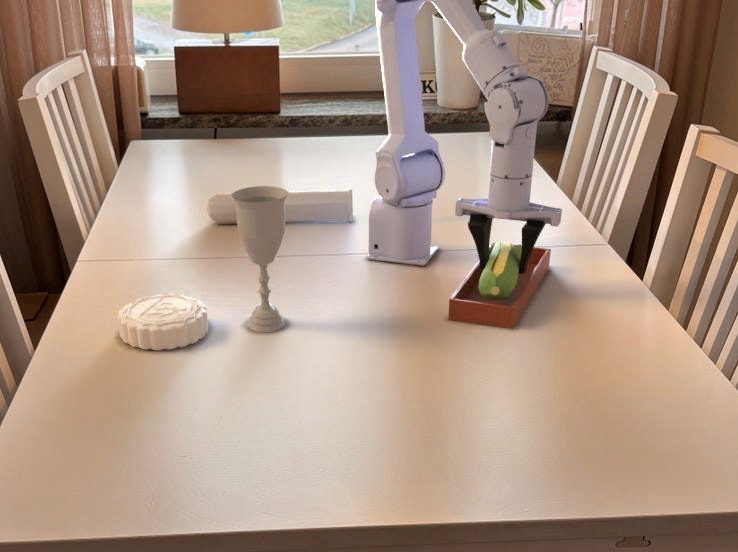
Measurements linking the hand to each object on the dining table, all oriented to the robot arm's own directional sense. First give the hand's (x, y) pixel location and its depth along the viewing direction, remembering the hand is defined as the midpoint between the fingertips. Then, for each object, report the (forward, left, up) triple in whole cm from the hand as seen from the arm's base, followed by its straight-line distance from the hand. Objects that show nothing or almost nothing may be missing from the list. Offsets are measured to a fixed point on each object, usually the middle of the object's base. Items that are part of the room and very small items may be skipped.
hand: (503, 268), depth 148 cm
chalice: (-27, -22, -4) cm, 35 cm away
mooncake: (-39, -29, -4) cm, 49 cm away
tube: (-43, +19, -4) cm, 48 cm away
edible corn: (0, -1, -2) cm, 2 cm away
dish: (0, 0, -4) cm, 4 cm away
